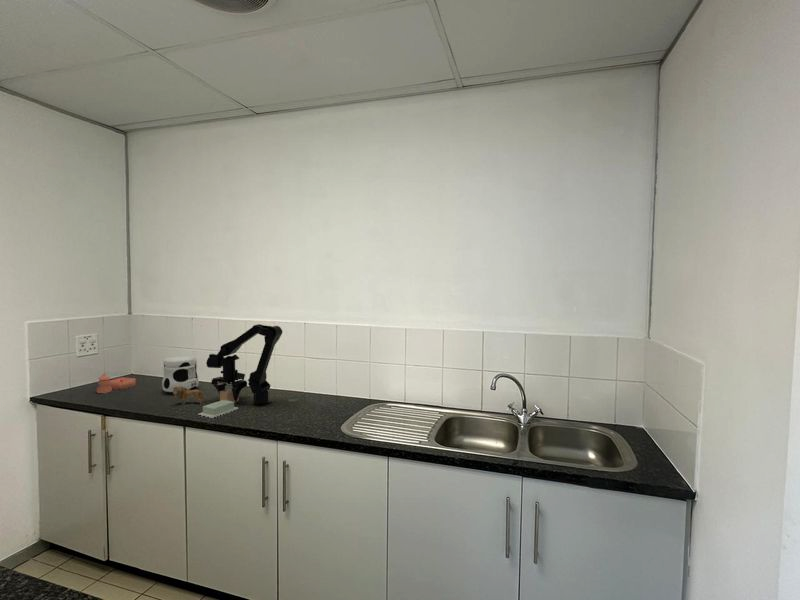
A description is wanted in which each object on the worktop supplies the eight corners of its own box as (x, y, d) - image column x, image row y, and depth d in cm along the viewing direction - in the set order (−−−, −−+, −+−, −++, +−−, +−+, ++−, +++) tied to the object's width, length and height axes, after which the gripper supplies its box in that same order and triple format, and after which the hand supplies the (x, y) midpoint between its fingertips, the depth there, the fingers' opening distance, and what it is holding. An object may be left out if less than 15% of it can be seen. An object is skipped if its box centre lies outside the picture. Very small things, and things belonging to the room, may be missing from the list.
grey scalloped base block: (238, 409, 183) (238, 401, 183) (212, 418, 171) (212, 410, 171) (224, 406, 187) (224, 398, 187) (198, 415, 175) (198, 407, 174)
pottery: (121, 384, 225) (121, 367, 224) (135, 385, 223) (135, 368, 222) (91, 393, 207) (90, 375, 207) (106, 394, 205) (105, 376, 205)
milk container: (164, 388, 217) (163, 356, 216) (199, 385, 224) (198, 354, 223) (160, 397, 201) (159, 362, 200) (198, 393, 208) (197, 359, 207)
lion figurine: (172, 406, 187) (171, 387, 186) (174, 403, 192) (174, 385, 191) (206, 403, 191) (205, 385, 191) (207, 400, 196) (207, 382, 196)
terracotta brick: (238, 401, 196) (238, 389, 196) (227, 404, 190) (227, 392, 190) (231, 399, 198) (231, 387, 198) (219, 403, 192) (219, 391, 192)
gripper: (255, 367, 197) (255, 397, 197) (228, 363, 205) (229, 392, 205) (237, 371, 187) (238, 404, 187) (210, 367, 194) (210, 398, 195)
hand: (229, 399), depth 194 cm, fingers open, 8 cm apart
